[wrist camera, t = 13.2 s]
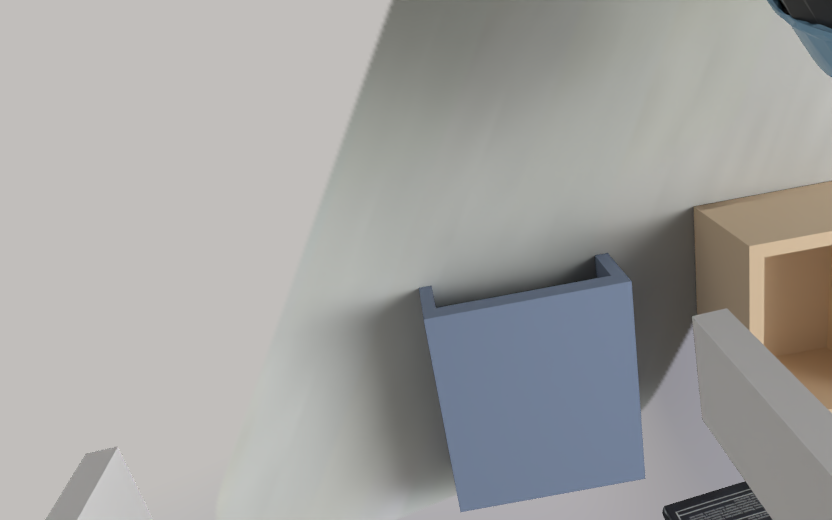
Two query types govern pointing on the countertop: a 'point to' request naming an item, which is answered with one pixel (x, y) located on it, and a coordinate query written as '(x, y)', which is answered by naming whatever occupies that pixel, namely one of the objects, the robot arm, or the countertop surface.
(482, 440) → the lid
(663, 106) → the countertop surface
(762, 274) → the tray
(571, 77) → the countertop surface
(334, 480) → the countertop surface
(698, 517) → the small box
